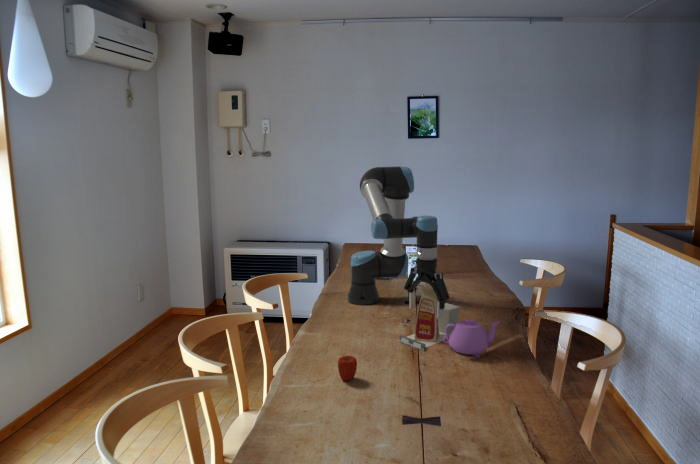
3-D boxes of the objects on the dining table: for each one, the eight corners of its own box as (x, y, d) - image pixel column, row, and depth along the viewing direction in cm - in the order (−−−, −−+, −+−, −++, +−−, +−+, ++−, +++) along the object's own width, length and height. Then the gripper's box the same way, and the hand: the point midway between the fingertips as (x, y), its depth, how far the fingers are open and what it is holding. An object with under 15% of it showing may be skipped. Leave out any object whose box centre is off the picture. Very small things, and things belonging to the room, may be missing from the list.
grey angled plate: (399, 342, 204) (399, 335, 204) (439, 327, 220) (439, 321, 219) (423, 351, 195) (423, 344, 195) (463, 335, 211) (464, 328, 211)
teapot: (497, 346, 199) (499, 314, 197) (500, 362, 186) (502, 327, 183) (443, 343, 203) (443, 311, 201) (442, 358, 189) (442, 324, 187)
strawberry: (350, 385, 170) (350, 363, 168) (334, 380, 173) (333, 358, 172) (360, 377, 175) (360, 356, 174) (344, 373, 178) (344, 352, 177)
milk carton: (414, 340, 203) (414, 289, 199) (417, 331, 212) (417, 282, 208) (438, 342, 201) (439, 290, 197) (440, 333, 210) (441, 284, 206)
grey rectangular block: (436, 331, 212) (436, 306, 210) (446, 327, 216) (446, 303, 214) (448, 335, 208) (449, 310, 206) (458, 331, 212) (459, 306, 210)
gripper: (395, 254, 206) (394, 307, 210) (446, 265, 188) (445, 323, 191) (408, 251, 211) (407, 303, 215) (460, 261, 192) (458, 318, 196)
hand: (425, 312), depth 203 cm, fingers open, 13 cm apart
